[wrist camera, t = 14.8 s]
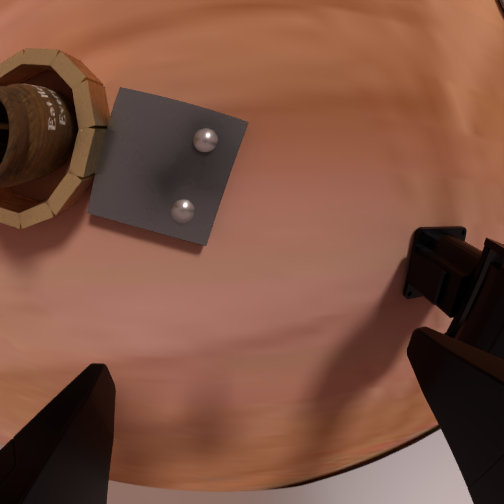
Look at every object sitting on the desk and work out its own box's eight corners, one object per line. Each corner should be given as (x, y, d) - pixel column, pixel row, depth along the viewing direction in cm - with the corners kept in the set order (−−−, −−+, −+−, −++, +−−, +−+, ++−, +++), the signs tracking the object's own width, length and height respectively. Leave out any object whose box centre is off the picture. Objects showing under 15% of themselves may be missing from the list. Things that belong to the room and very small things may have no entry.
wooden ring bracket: (254, 101, 17) (263, 94, 14) (199, 260, 20) (199, 281, 17) (-46, 59, 10) (-67, 56, 7) (-69, 180, 13) (-89, 188, 10)
